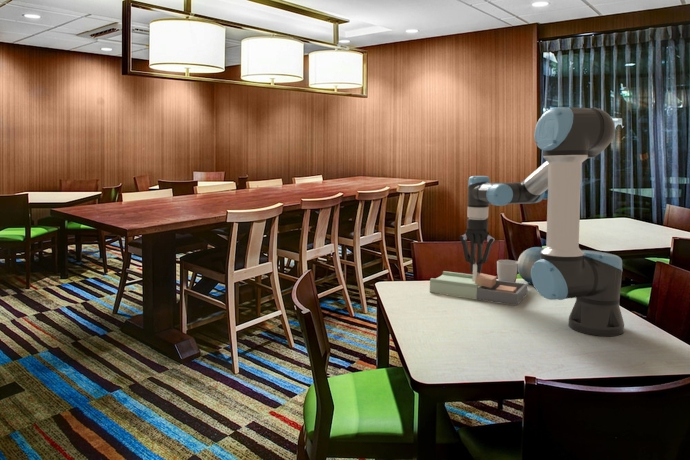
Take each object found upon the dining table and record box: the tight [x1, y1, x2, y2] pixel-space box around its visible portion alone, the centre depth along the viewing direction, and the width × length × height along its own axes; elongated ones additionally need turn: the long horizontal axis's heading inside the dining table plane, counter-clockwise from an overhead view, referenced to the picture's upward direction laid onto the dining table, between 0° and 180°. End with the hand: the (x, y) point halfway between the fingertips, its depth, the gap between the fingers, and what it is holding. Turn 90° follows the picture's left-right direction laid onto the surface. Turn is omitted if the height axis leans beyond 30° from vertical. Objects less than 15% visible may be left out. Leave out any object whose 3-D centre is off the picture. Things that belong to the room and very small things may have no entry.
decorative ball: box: [517, 246, 545, 285], centre depth 206 cm, size 15×15×15 cm
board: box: [429, 270, 485, 300], centre depth 198 cm, size 15×18×5 cm
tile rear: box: [475, 272, 498, 288], centre depth 192 cm, size 6×6×3 cm
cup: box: [496, 259, 519, 283], centre depth 203 cm, size 8×8×10 cm
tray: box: [476, 279, 528, 306], centre depth 189 cm, size 16×14×4 cm
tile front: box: [496, 285, 517, 293], centre depth 189 cm, size 6×6×3 cm
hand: (475, 280), depth 194 cm, fingers closed
